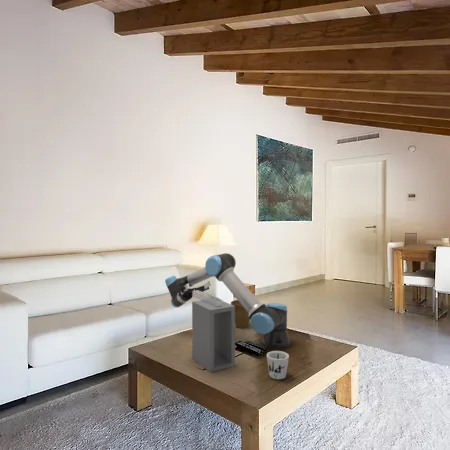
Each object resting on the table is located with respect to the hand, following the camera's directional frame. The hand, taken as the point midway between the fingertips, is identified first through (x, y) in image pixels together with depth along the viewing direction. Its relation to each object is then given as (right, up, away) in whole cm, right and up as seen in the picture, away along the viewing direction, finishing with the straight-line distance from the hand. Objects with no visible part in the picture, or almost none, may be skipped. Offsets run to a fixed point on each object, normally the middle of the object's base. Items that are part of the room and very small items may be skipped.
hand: (199, 284), depth 217 cm
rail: (+5, -5, -21) cm, 22 cm away
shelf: (+9, -36, -25) cm, 44 cm away
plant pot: (+26, -33, +33) cm, 53 cm away
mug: (+40, -37, -38) cm, 66 cm away
